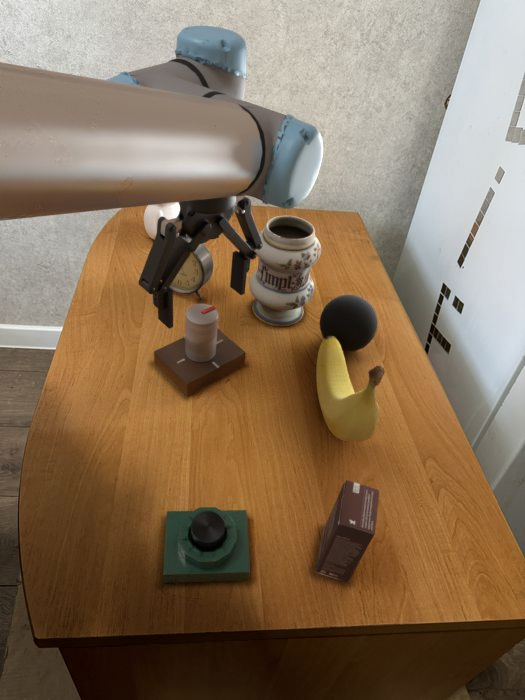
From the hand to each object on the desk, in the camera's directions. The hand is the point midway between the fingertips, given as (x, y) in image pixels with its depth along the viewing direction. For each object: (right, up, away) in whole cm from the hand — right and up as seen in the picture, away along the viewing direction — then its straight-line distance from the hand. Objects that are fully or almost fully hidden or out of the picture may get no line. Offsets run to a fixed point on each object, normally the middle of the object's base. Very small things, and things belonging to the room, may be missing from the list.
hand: (203, 306), depth 80 cm
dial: (-1, -7, +6) cm, 9 cm away
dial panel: (-1, -9, +8) cm, 12 cm away
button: (+2, -29, -17) cm, 34 cm away
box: (+18, -33, -13) cm, 40 cm away
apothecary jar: (+12, +1, +21) cm, 25 cm away
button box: (+2, -31, -15) cm, 35 cm away
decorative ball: (+24, -6, +16) cm, 29 cm away
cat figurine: (-12, +18, +36) cm, 42 cm away
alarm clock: (-6, +5, +23) cm, 24 cm away
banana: (+20, -17, +4) cm, 27 cm away
